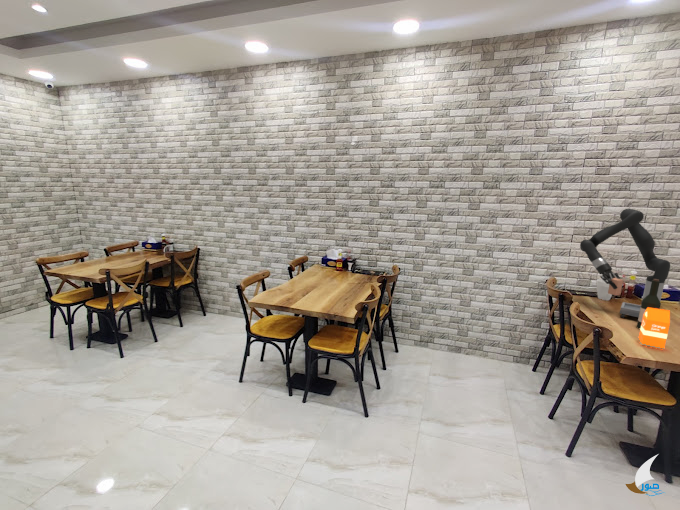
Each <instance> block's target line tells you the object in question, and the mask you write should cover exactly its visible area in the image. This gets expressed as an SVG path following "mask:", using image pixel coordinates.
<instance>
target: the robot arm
mask: <svg viewBox="0 0 680 510" xmlns="http://www.w3.org/2000/svg"><path fill="white" fill-rule="evenodd" d="M644 216H645V215H644V213H643V212H642V211H640V210H638V209H637V210H636V209H633V208H625V209H623V210H622V211H620V215H619V217H620V221H619V222H617V223H615V224H612V225H610V226H607V227H604V228H602V229H600V230H599V231H597V232H595V233H594V234H593V235H592V237H590V238H589V239H583V240H581V242H580V243H579V247H580V250H581V251H582V252H584V253H585V254H586V256H587V258H588V260H589V261H590V262H591V264H592V266H593V267H594V269H595V270H596V271H597V273H598V274H599V275H600V276H599V277H600V279H603V280H604V281H605V282H606V283H607V284H610V285H611V286H612V287H613V289H617V288H618V287H617V286H616V285H615V283H614V282H613V280H612V279H613V278H617V279H621V277H620V276H619V273H617V272H613V271H612V270H613V268H612V266H611V265H610V264H609V262H608V261H607V260H606V259H605V258H604V257H603V256H602V254H601V253H600V252H599V250H598V249H597V247H598V246H600V244H601V243H604V242H605V241H607V240H608V239H610V238H611V237H613V236H615V235H617V234H619V233H620V232H623V231H624V230H628V232H629V234H630V236H631V238H632V239H633V241H634V243H635V245H636V247H637V249H638V250H639V252H640V254H641V256H642V259H643V261H644V264H645V266H646V269H648V270H649V271H652V272H654V273H653V275H648V276H647V277H646V279H645V285H644V290H643V295H642V298H641V300H642V299H644V298H645V297H646V296H647V295H649V292H650V288H651V283H652V280H653V279H658V280H659V281H660V283H659V288H658V292H657V297H658V299H659V301H660V302H661V299H662V296H663V291H664V286H665V282H666V280H667V279H668V276H669V273H670V269H671V263H670V261H668V260H667V259H663V258H662V259H661V258H659V257H657V256H656V254H655V253H654V250H655V246H656V243H655V240H654V238H653V236H652V234H651V233H650V232H649V231H648V230H647V229H646V228H645V227H644V226H643V225H642V224H641V222H642V221H643V219H644ZM610 280H611V281H610ZM607 281H608V282H607ZM622 288H624V286H623V285H622Z"/></svg>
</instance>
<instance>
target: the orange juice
mask: <svg viewBox="0 0 680 510" xmlns="http://www.w3.org/2000/svg"><path fill="white" fill-rule="evenodd" d="M670 325H671V310H670V309H669V310H668V309H661V308H660V309H656V308H650V307H647V309H646V311H645V313H644V315H643V319H642V324H641V328H640V329H639V335H638V338H639V340H640V342H641V343H642V344H646V345H650V346H655V347H660V348H664V349H665V347H666V342H667V338H668V334H669V329H670ZM640 342H639V343H640Z"/></svg>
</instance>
